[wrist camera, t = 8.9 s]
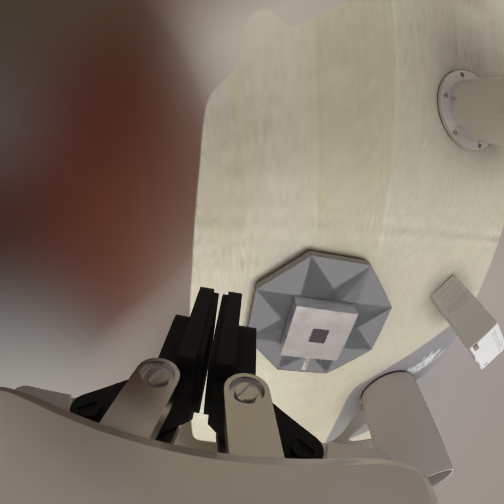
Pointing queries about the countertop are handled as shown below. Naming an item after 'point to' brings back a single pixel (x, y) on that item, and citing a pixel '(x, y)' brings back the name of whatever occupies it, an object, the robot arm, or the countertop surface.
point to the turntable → (323, 288)
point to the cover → (317, 328)
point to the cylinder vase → (405, 425)
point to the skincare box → (469, 321)
